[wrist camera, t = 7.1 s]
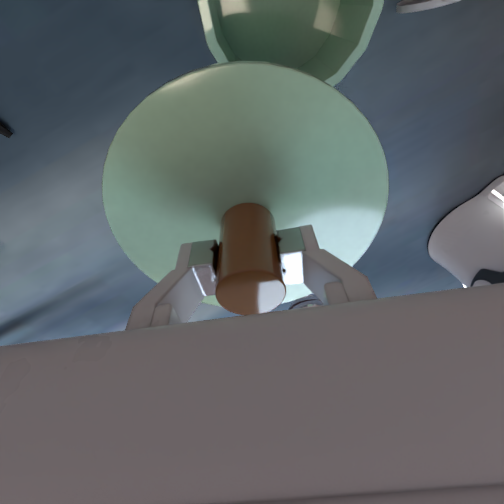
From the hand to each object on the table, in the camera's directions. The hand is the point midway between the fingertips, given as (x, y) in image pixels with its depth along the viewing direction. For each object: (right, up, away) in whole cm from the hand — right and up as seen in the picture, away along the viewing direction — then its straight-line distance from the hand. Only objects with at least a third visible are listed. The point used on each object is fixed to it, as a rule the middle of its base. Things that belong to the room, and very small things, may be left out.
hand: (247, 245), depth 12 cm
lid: (0, +1, +1) cm, 2 cm away
